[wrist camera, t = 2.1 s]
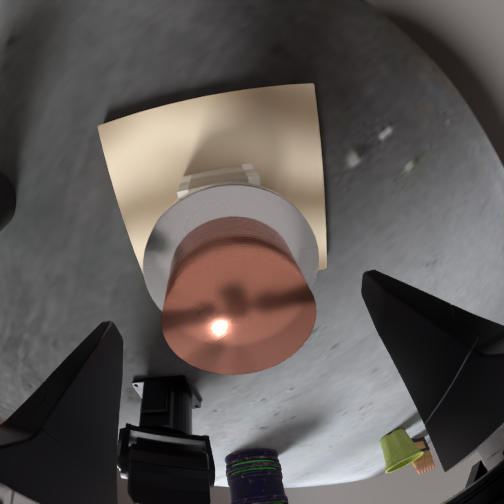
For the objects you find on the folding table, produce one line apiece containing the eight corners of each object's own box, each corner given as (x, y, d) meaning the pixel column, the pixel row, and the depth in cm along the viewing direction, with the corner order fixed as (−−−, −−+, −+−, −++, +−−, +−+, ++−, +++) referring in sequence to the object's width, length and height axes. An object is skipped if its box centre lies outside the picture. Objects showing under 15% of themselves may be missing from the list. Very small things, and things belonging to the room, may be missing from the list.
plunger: (297, 273, 17) (341, 367, 11) (179, 296, 16) (170, 400, 10) (286, 152, 13) (352, 198, 7) (142, 180, 13) (88, 250, 7)
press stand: (322, 262, 24) (343, 294, 20) (156, 294, 23) (148, 332, 19) (308, 84, 17) (335, 79, 13) (102, 124, 16) (74, 131, 12)
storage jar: (220, 451, 40) (228, 528, 27) (277, 444, 41) (294, 519, 28) (229, 467, 45) (237, 531, 32) (278, 460, 46) (292, 524, 33)
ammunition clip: (401, 444, 58) (416, 476, 47) (406, 440, 57) (421, 473, 46) (419, 440, 61) (433, 469, 51) (424, 436, 60) (438, 466, 50)
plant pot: (384, 430, 47) (398, 462, 40) (416, 419, 49) (431, 447, 41) (367, 448, 52) (378, 477, 44) (398, 437, 53) (410, 464, 45)
